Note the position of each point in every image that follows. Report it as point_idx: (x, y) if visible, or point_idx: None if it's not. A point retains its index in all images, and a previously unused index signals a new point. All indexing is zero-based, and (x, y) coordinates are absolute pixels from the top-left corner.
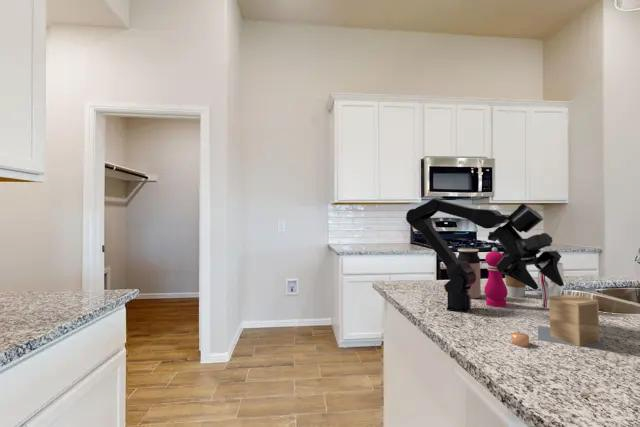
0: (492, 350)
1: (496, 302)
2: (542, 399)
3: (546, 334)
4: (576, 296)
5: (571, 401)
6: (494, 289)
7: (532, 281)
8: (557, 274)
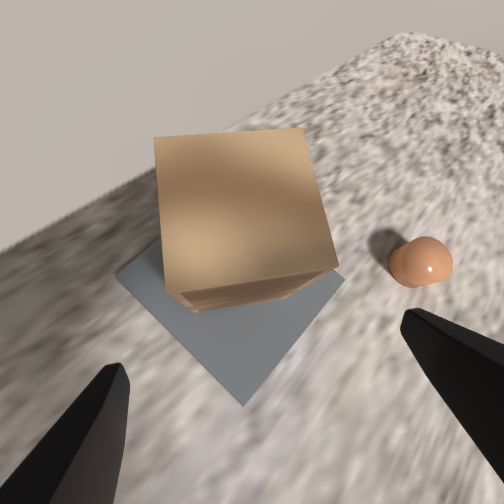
0: (493, 255)
1: None
2: (487, 86)
3: (286, 312)
4: (179, 229)
5: (450, 73)
6: None
7: (481, 337)
8: (60, 472)
